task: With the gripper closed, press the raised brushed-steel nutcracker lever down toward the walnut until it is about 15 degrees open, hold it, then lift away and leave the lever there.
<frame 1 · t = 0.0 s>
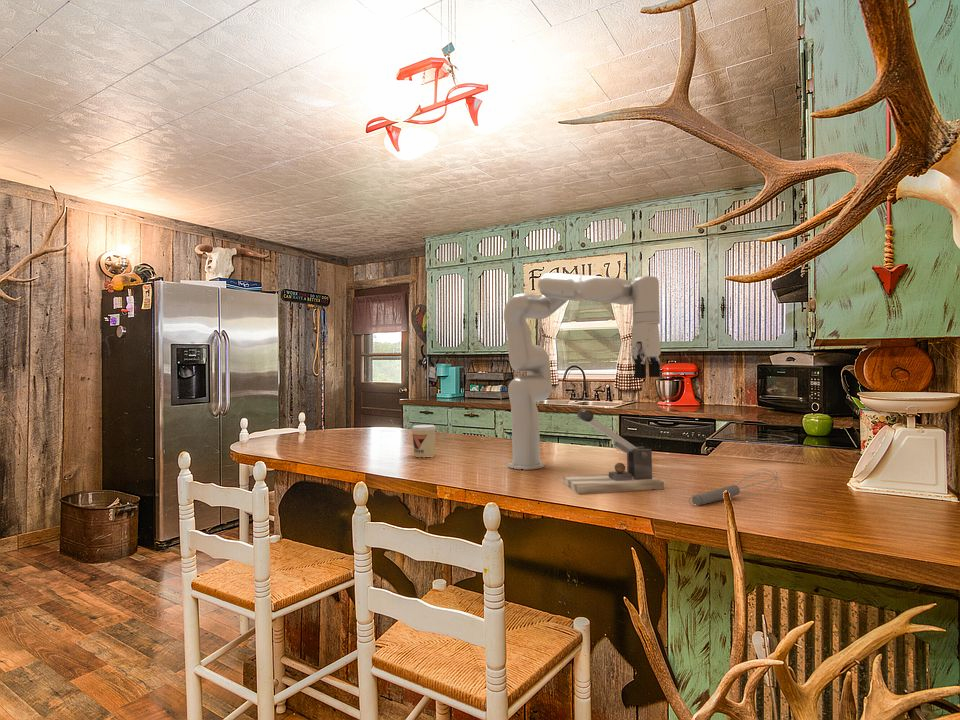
hand: (647, 377, 159), 31 cm above the countertop, tool pointing down, fingers open, 9 cm apart
nutcracker base: (639, 484, 159), on the countertop
nutcracker lever: (611, 434, 158), point 15 cm above the countertop, hinge at 35.0°
coffee cup: (424, 457, 214), on the countertop
kitchen whisk: (738, 499, 142), on the countertop
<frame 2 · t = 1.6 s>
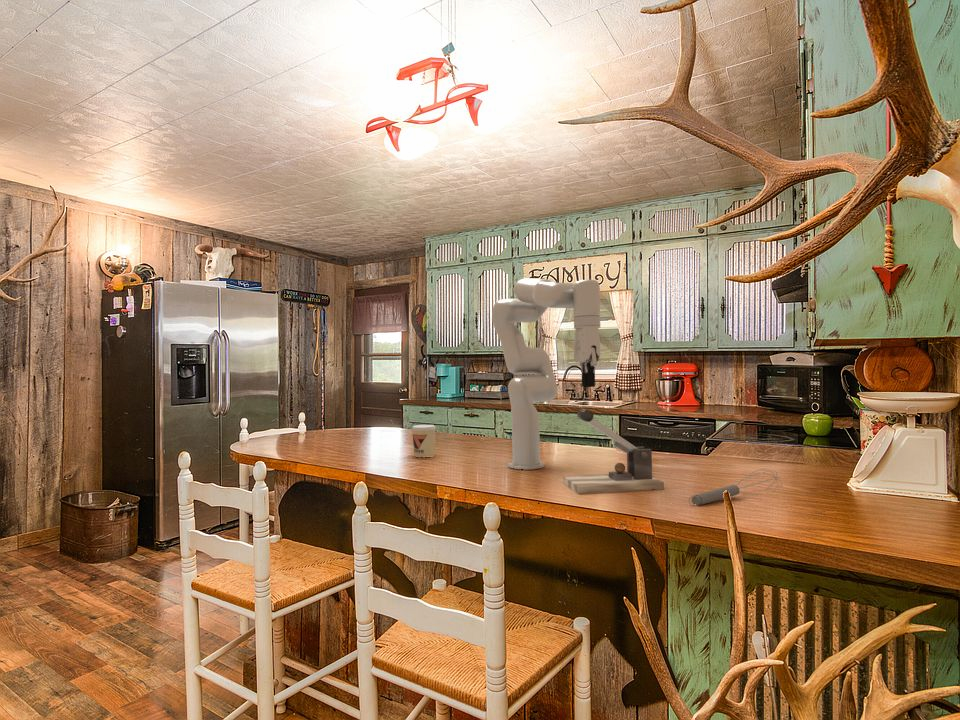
hand: (588, 386, 157), 29 cm above the countertop, tool pointing down, fingers closed
nothing on the countertop moved.
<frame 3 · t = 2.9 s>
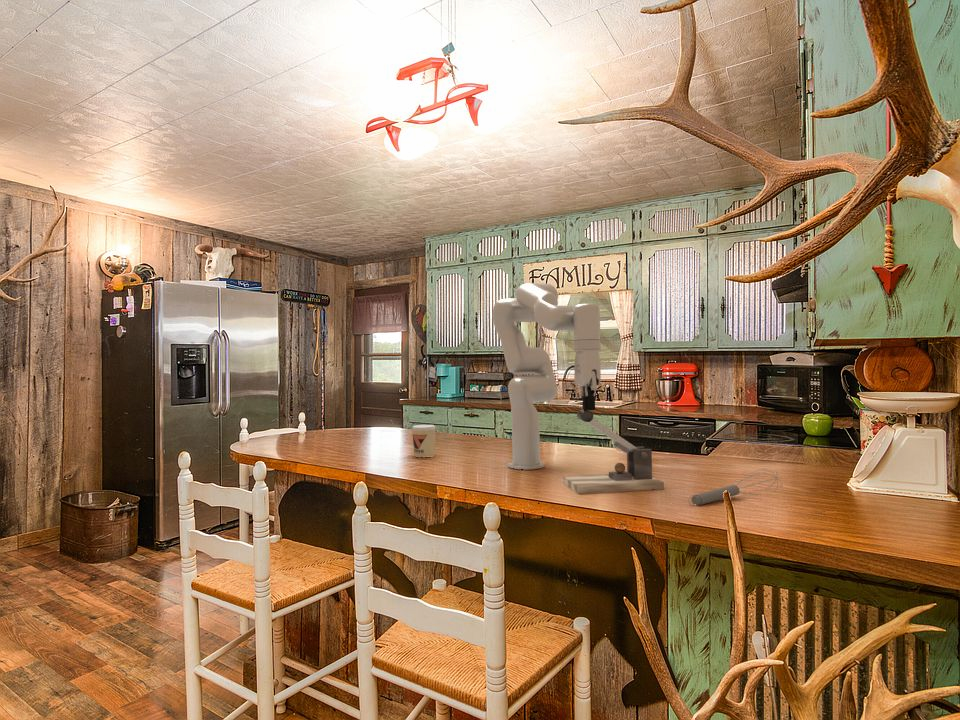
hand: (589, 409, 157), 22 cm above the countertop, tool pointing down, fingers closed
nutcracker lever: (611, 434, 158), point 15 cm above the countertop, hinge at 34.7°, touching gripper
everything else where it was.
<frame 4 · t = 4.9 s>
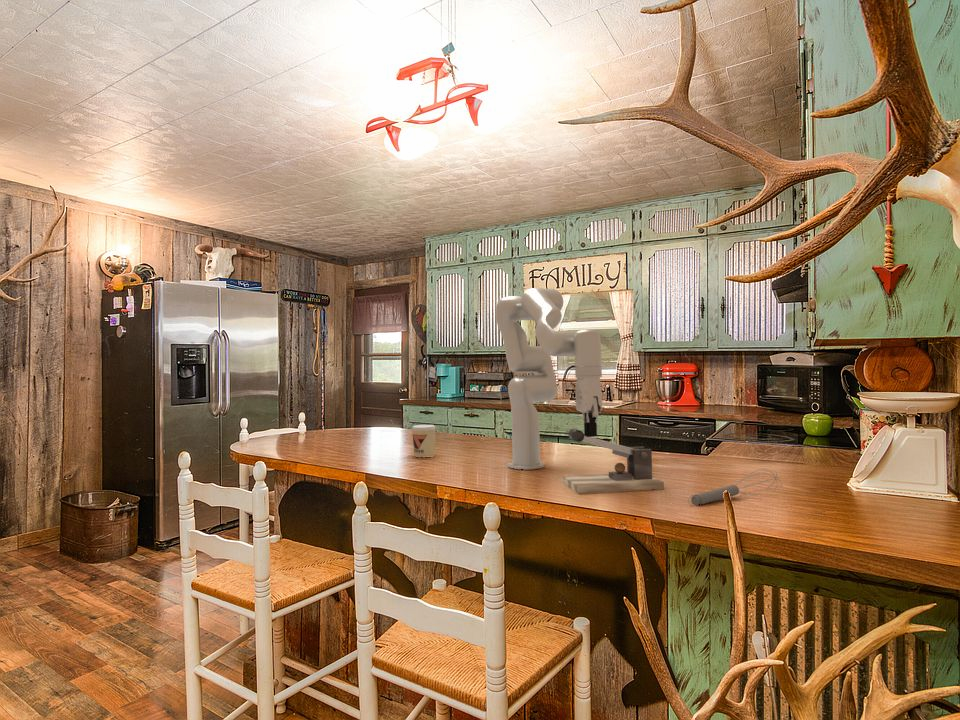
hand: (590, 436, 157), 15 cm above the countertop, tool pointing down, fingers closed
nutcracker lever: (607, 444, 158), point 12 cm above the countertop, hinge at 16.9°, touching gripper
everything else where it was.
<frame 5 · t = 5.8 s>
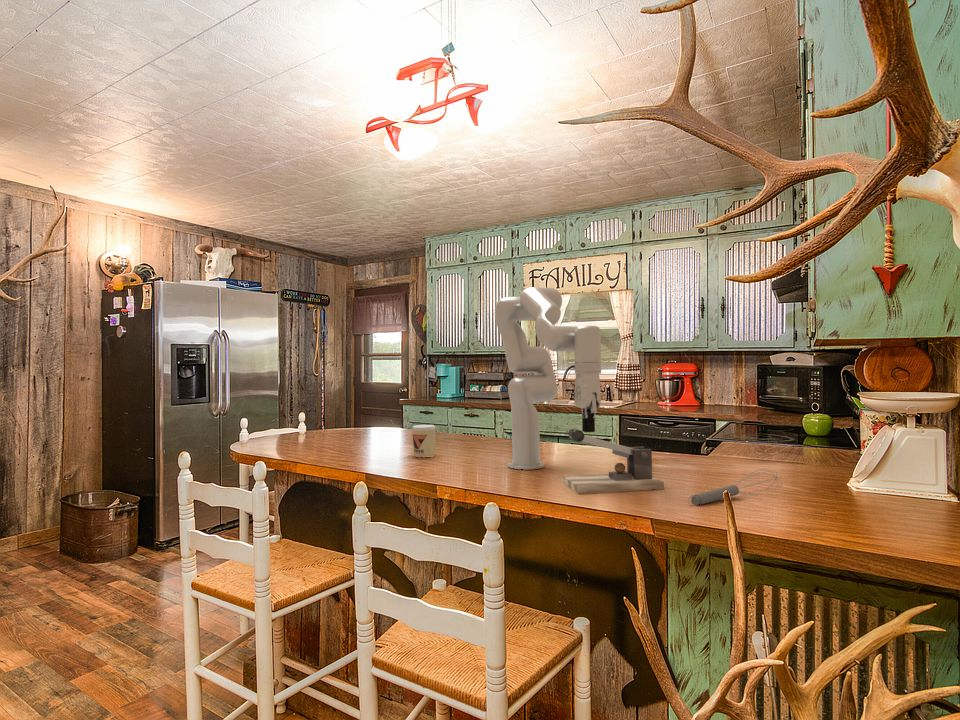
hand: (588, 431, 158), 16 cm above the countertop, tool pointing down, fingers closed
nutcracker lever: (607, 444, 158), point 12 cm above the countertop, hinge at 16.9°
everything else where it was.
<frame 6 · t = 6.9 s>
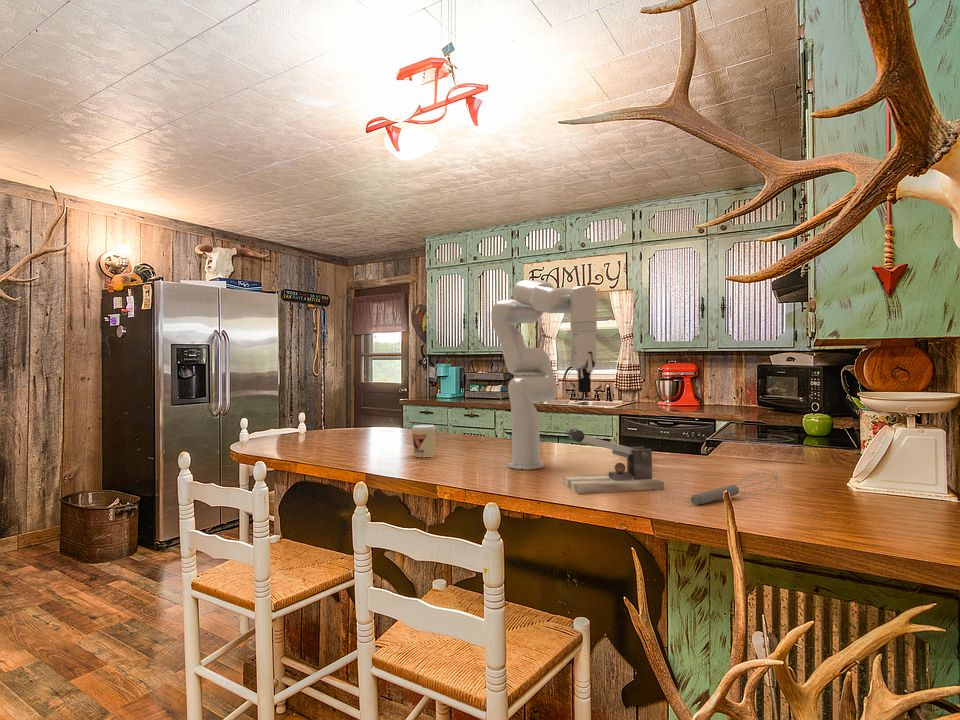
hand: (584, 391, 158), 27 cm above the countertop, tool pointing down, fingers closed
nothing on the countertop moved.
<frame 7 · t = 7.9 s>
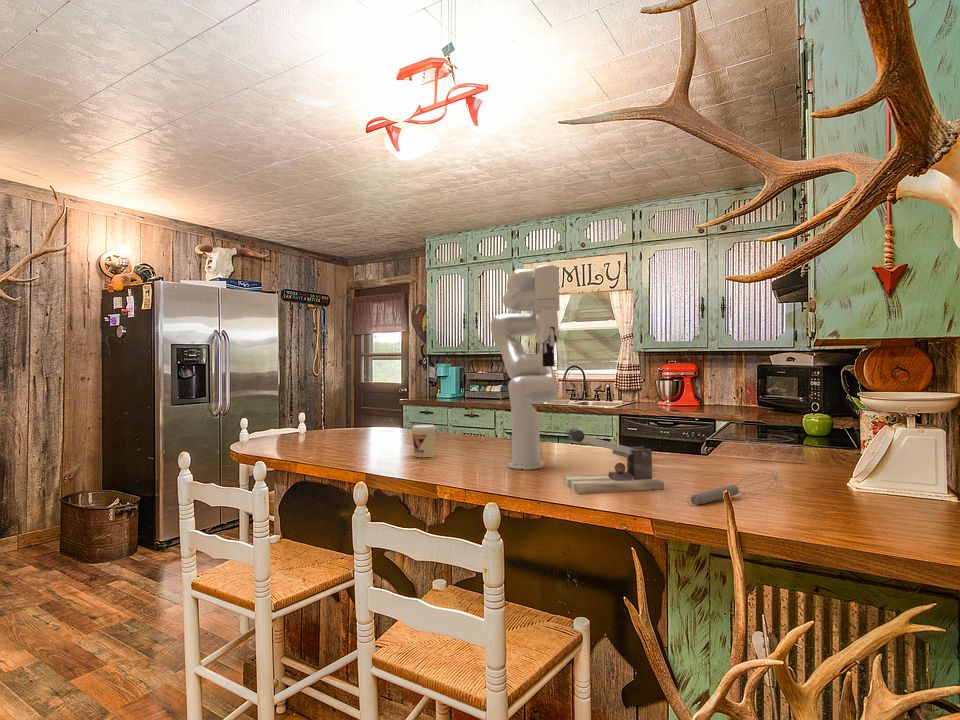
hand: (548, 366, 166), 35 cm above the countertop, tool pointing down, fingers closed
nothing on the countertop moved.
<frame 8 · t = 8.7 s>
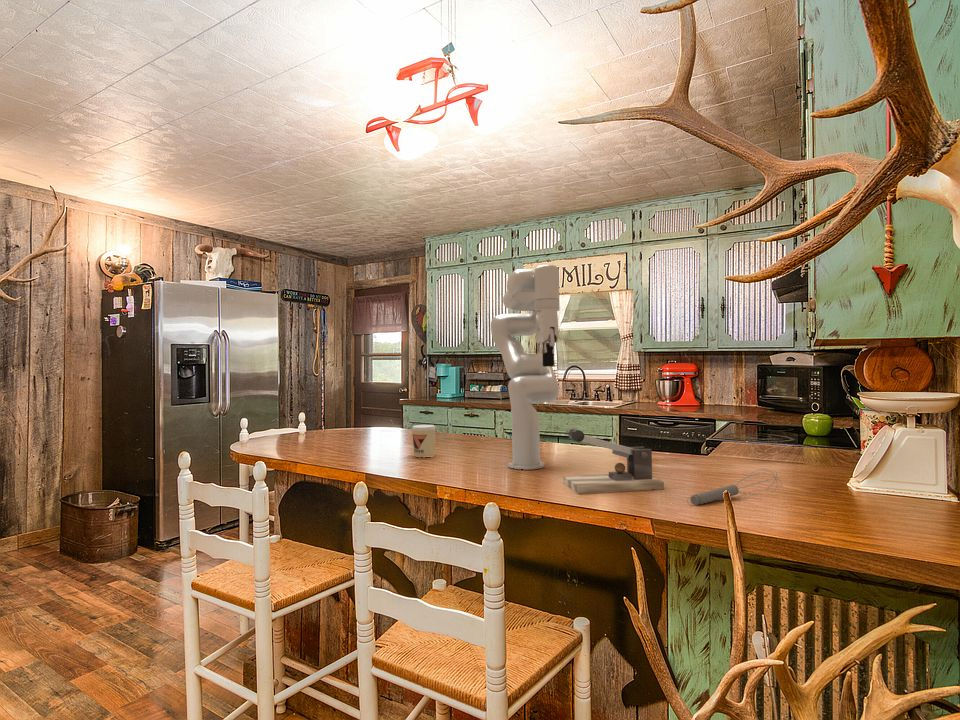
hand: (548, 366, 166), 35 cm above the countertop, tool pointing down, fingers closed
nothing on the countertop moved.
at the end: nutcracker lever at +17° (first picture: +35°); kitchen whisk moved 0.6 cm from its start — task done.
